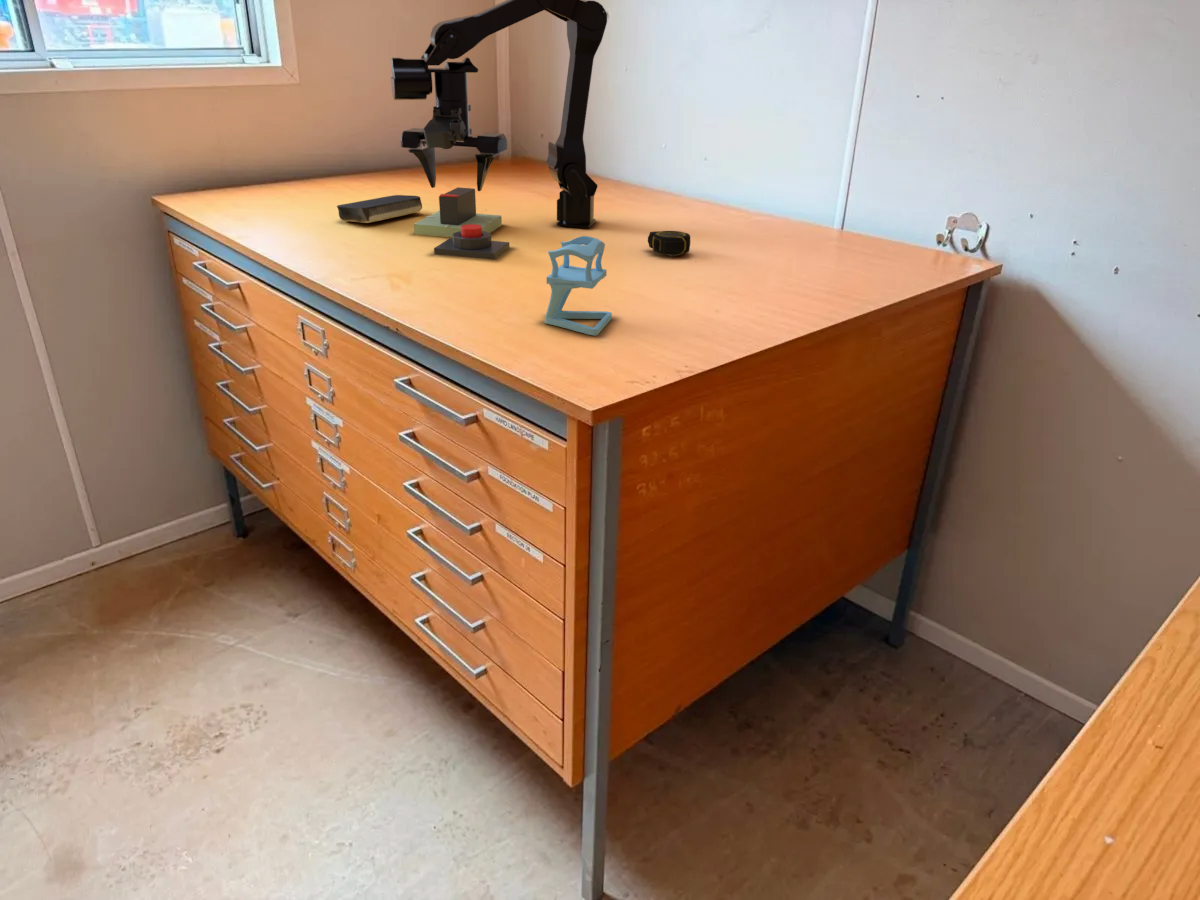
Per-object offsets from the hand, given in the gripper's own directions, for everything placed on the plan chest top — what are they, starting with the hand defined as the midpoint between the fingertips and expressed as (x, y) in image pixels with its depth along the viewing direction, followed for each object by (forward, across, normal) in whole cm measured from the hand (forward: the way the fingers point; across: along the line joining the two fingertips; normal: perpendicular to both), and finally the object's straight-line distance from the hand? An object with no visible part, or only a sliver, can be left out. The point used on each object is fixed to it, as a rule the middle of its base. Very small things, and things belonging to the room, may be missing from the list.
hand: (456, 189), depth 163 cm
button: (+5, +8, -14) cm, 17 cm away
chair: (+8, +35, -45) cm, 58 cm away
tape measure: (+8, +41, -4) cm, 42 cm away
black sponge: (+8, -18, +4) cm, 20 cm away
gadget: (+6, 0, 0) cm, 6 cm away
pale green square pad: (+8, 0, 0) cm, 8 cm away
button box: (+8, +8, -14) cm, 18 cm away
